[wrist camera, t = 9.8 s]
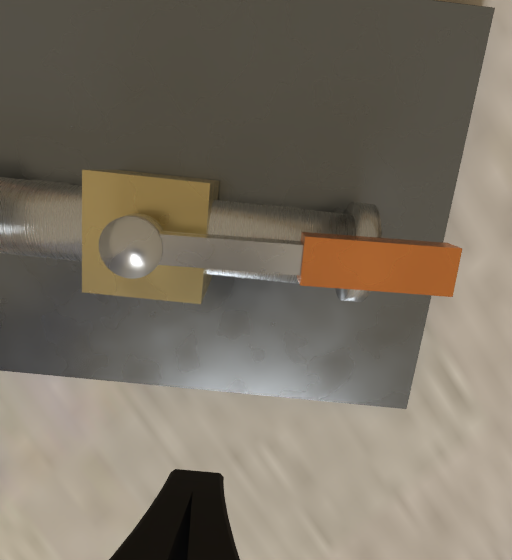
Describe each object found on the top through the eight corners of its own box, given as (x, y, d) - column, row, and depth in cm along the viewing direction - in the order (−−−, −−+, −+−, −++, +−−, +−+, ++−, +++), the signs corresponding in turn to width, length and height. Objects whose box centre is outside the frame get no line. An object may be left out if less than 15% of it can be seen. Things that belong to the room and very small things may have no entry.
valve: (-3, 360, 22) (-87, 422, 16) (-25, -45, 17) (-152, -142, 12) (399, 398, 22) (445, 470, 17) (481, 16, 18) (579, -50, 12)
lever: (110, 269, 15) (98, 276, 14) (109, 210, 14) (97, 214, 13) (437, 293, 15) (451, 302, 14) (448, 236, 14) (463, 242, 13)
